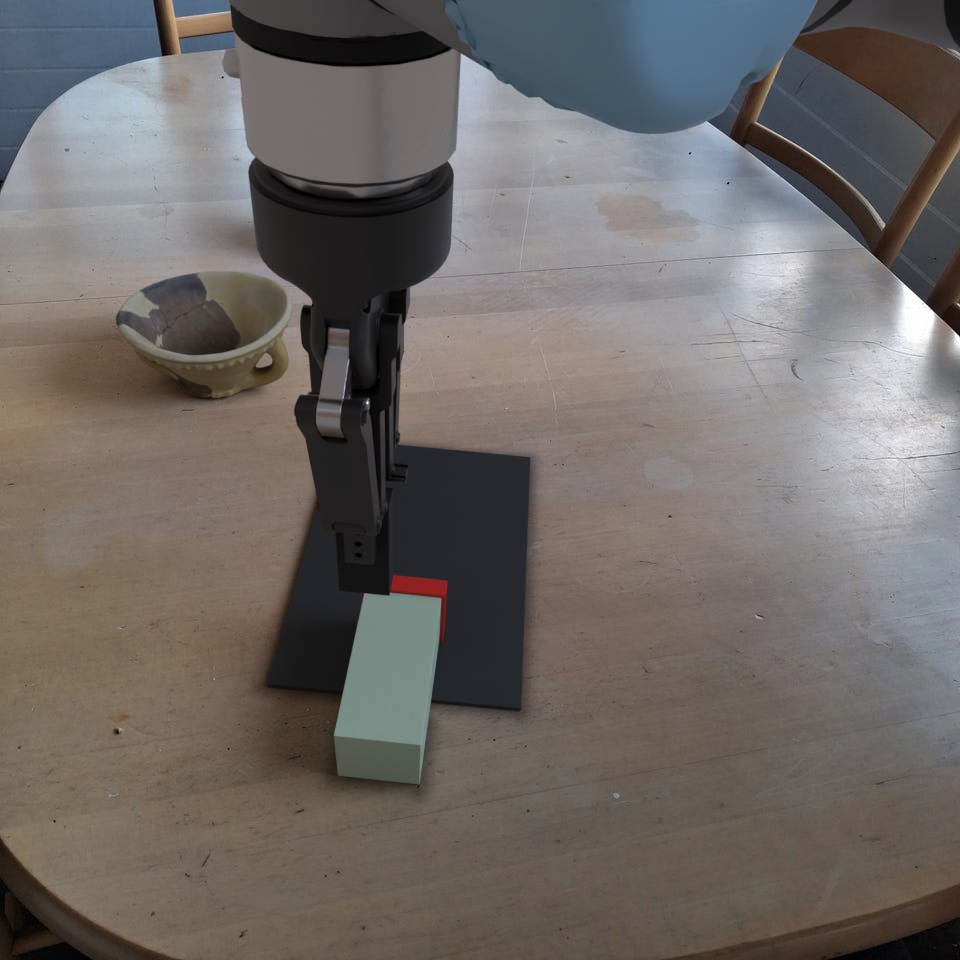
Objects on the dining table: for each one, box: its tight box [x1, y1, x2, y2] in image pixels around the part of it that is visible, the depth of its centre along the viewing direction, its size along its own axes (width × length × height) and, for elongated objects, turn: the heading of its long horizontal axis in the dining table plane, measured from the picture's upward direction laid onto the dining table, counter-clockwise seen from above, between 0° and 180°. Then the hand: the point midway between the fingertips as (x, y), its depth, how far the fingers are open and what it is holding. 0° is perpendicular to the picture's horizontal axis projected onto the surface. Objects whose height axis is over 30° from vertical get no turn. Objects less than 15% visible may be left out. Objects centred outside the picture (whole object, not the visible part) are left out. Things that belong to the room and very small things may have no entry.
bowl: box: [115, 270, 293, 399], centre depth 96 cm, size 18×18×10 cm
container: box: [333, 575, 447, 785], centre depth 69 cm, size 7×7×14 cm
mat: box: [266, 444, 531, 712], centre depth 82 cm, size 30×20×1 cm, turn 176°
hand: (366, 582), depth 49 cm, fingers closed
